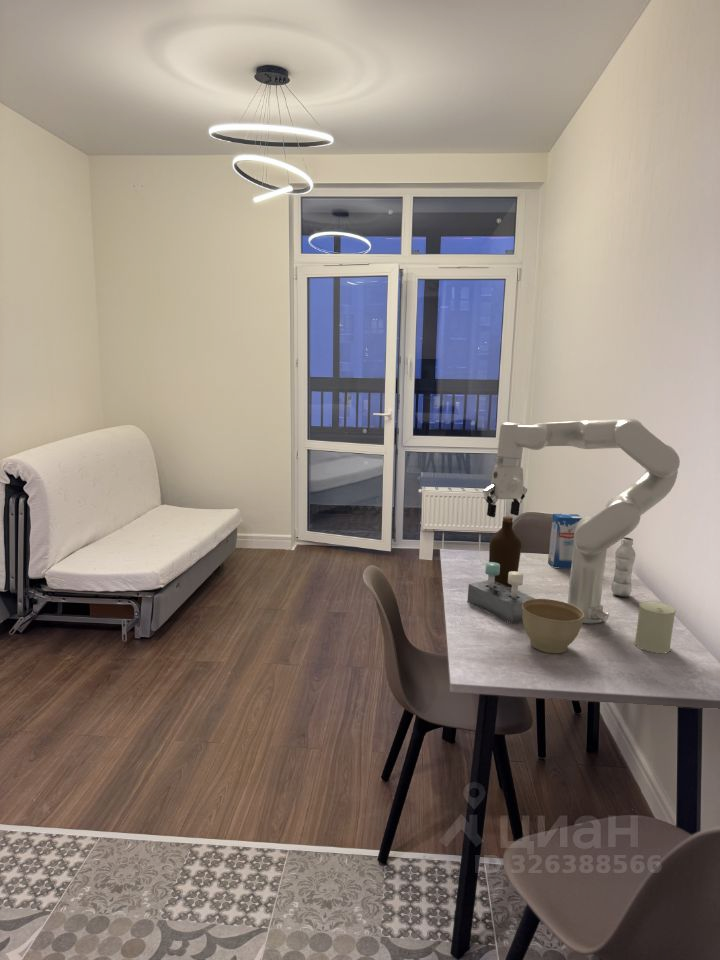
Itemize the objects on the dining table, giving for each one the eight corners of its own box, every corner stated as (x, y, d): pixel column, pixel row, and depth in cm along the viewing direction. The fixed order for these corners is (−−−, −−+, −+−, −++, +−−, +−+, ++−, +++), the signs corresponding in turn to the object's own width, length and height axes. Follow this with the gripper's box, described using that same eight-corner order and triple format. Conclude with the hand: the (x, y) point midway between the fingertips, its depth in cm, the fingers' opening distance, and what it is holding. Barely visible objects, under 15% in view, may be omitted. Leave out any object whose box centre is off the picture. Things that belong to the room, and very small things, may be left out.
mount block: (535, 618, 196) (537, 599, 195) (512, 624, 191) (513, 604, 190) (490, 597, 212) (491, 579, 211) (467, 601, 207) (468, 583, 206)
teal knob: (500, 592, 204) (503, 565, 203) (490, 594, 202) (492, 567, 200) (491, 588, 208) (493, 561, 206) (480, 590, 206) (483, 563, 204)
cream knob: (523, 603, 196) (526, 574, 194) (513, 605, 194) (516, 576, 192) (513, 598, 200) (516, 570, 198) (503, 600, 197) (505, 572, 196)
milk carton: (572, 563, 254) (577, 514, 251) (578, 568, 248) (584, 518, 245) (547, 563, 254) (552, 513, 250) (553, 567, 247) (558, 517, 244)
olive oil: (493, 593, 216) (499, 521, 211) (481, 583, 226) (487, 513, 222) (522, 592, 218) (529, 521, 213) (509, 582, 228) (515, 513, 224)
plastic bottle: (615, 598, 217) (622, 541, 213) (607, 591, 223) (613, 535, 220) (634, 599, 217) (641, 541, 213) (625, 592, 223) (632, 536, 220)
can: (639, 651, 176) (645, 610, 173) (630, 638, 185) (635, 598, 182) (675, 655, 174) (681, 613, 172) (664, 641, 183) (669, 601, 181)
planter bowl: (573, 665, 165) (577, 625, 164) (511, 649, 173) (515, 611, 171) (584, 643, 179) (589, 606, 177) (527, 629, 187) (530, 594, 185)
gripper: (495, 464, 193) (489, 520, 196) (537, 463, 202) (531, 516, 205) (479, 460, 200) (473, 514, 203) (521, 459, 208) (515, 511, 211)
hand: (502, 515), depth 204 cm, fingers open, 9 cm apart
